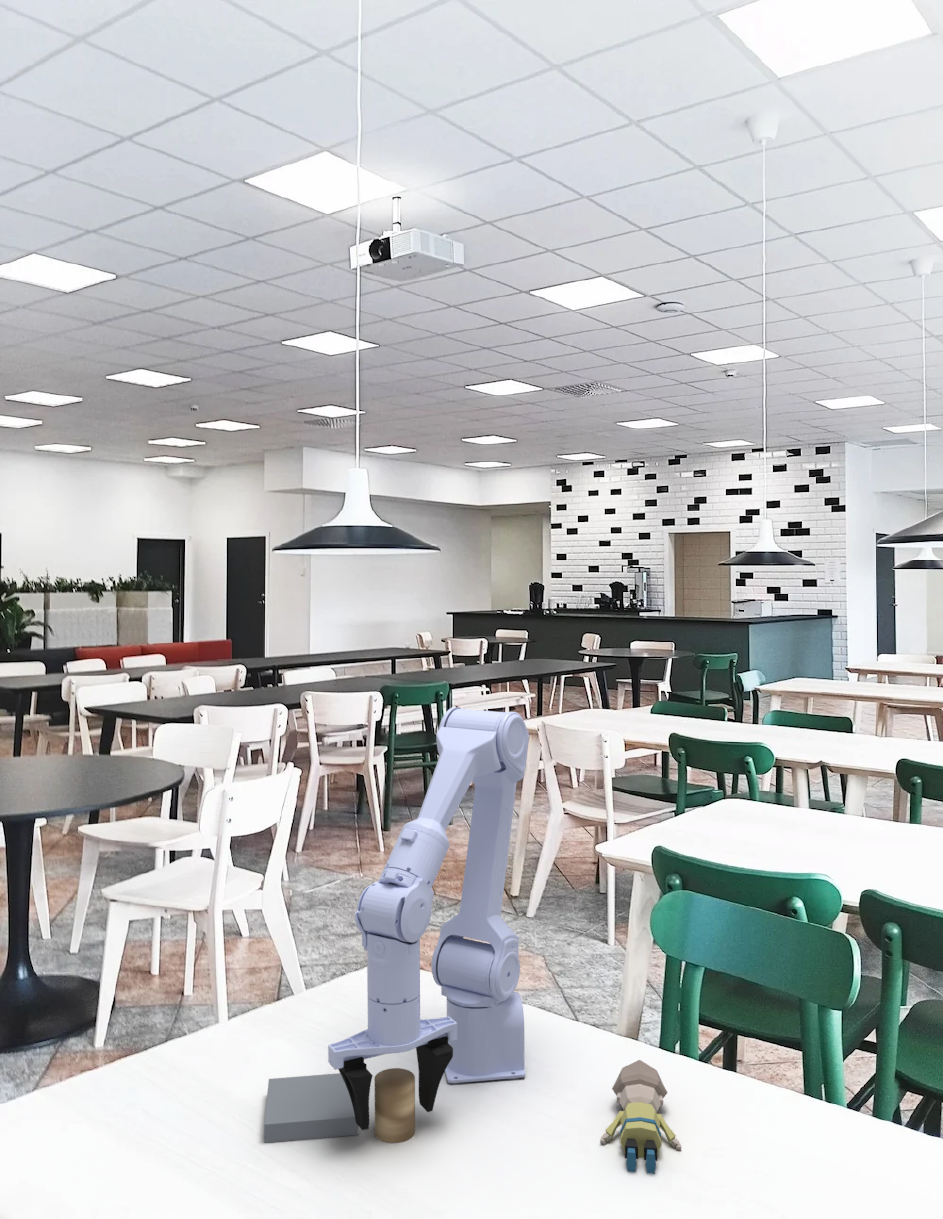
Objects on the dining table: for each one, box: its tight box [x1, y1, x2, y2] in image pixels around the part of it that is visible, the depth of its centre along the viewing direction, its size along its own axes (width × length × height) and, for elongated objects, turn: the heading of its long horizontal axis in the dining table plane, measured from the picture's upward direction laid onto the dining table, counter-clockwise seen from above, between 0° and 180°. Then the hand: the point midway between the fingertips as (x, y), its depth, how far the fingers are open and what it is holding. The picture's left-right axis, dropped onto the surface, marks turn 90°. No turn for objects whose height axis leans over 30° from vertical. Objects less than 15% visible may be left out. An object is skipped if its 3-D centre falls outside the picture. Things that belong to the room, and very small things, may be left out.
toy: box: [599, 1059, 682, 1175], centre depth 111 cm, size 8×5×15 cm
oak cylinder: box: [373, 1067, 416, 1144], centre depth 112 cm, size 4×4×6 cm
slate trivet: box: [263, 1072, 359, 1144], centre depth 115 cm, size 10×10×2 cm
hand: (394, 1116), depth 112 cm, fingers open, 7 cm apart
